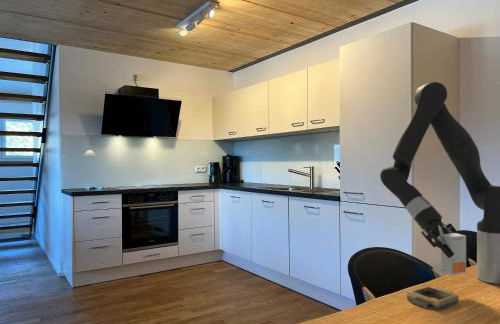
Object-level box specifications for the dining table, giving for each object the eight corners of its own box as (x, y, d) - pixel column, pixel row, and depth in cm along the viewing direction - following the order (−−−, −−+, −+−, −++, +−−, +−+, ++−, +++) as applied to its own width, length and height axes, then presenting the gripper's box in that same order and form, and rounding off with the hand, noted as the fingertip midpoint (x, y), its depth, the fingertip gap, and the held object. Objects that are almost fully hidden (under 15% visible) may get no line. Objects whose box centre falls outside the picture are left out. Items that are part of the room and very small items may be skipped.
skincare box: (451, 275, 112) (450, 237, 111) (440, 271, 116) (439, 234, 116) (467, 273, 113) (466, 235, 113) (456, 269, 117) (455, 232, 117)
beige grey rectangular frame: (429, 292, 116) (429, 284, 116) (461, 302, 108) (461, 294, 108) (404, 300, 110) (403, 292, 110) (435, 312, 101) (435, 303, 101)
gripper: (416, 207, 117) (453, 251, 107) (443, 203, 124) (479, 244, 114) (403, 221, 122) (436, 265, 112) (429, 217, 129) (463, 257, 119)
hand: (458, 254), depth 113 cm, fingers closed on skincare box, 6 cm apart
